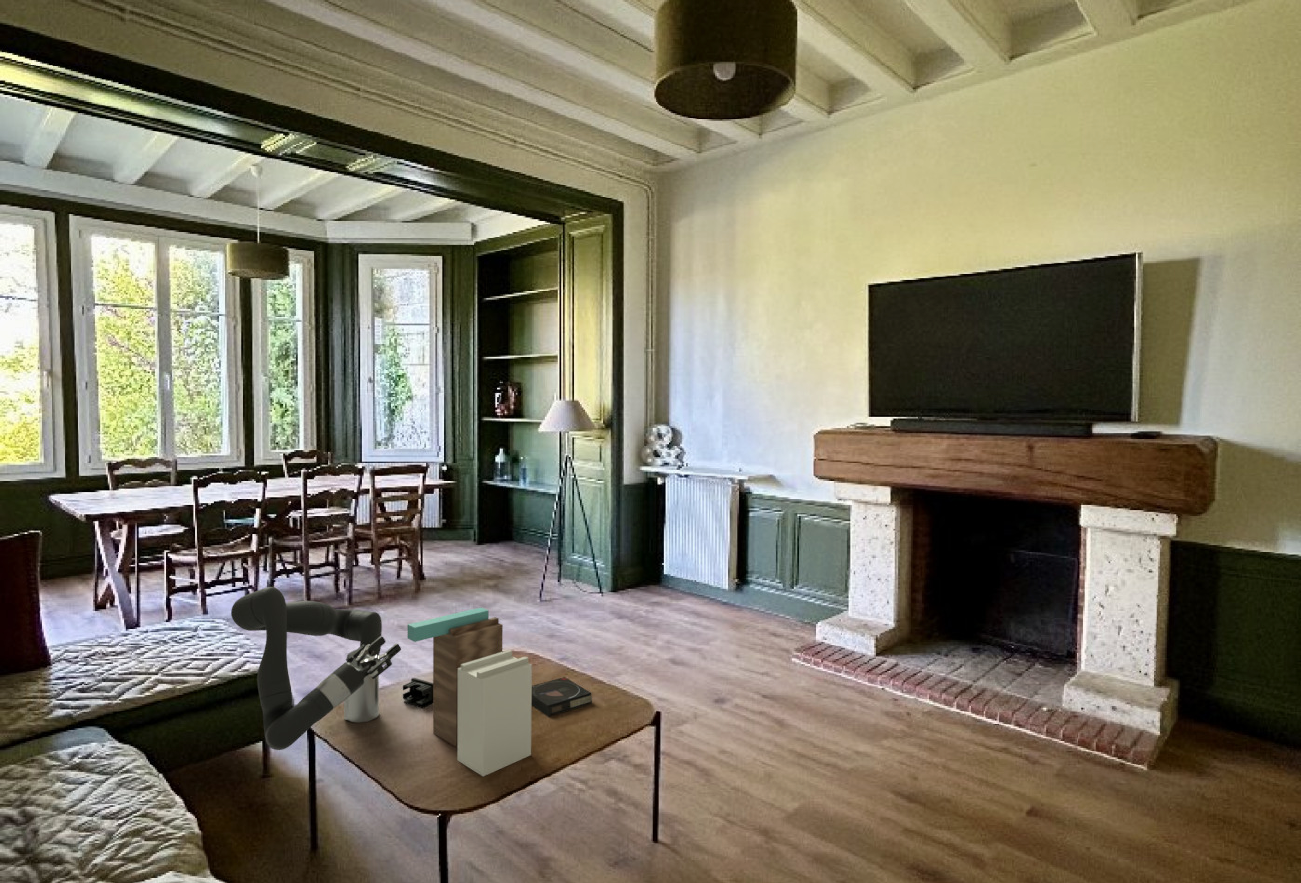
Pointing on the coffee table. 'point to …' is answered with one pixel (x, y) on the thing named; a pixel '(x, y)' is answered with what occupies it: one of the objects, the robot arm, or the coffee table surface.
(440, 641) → the walnut plinth
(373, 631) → the robot arm
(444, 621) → the teal bar
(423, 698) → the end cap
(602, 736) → the coffee table surface
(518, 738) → the grey plinth
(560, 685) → the portable cd player
